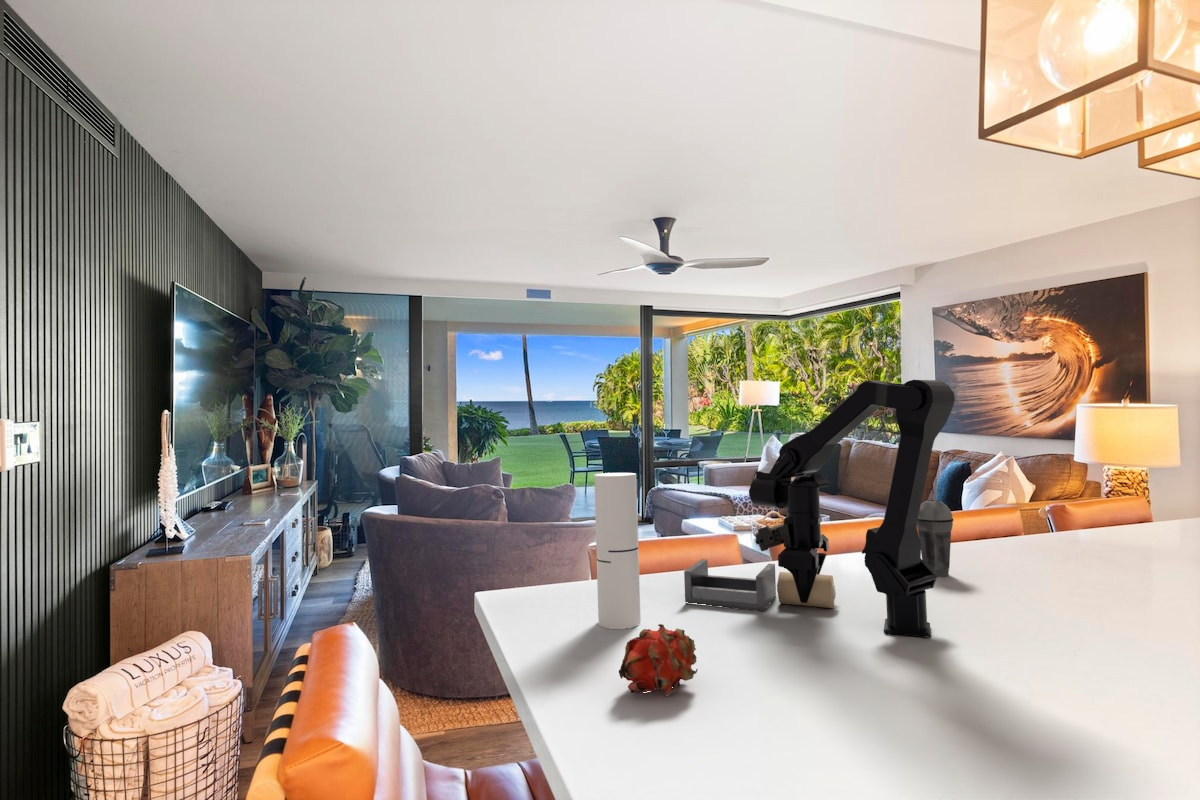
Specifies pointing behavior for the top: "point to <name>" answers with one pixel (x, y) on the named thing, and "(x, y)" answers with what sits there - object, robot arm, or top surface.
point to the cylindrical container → (617, 550)
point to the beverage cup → (935, 534)
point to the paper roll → (819, 595)
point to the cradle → (729, 588)
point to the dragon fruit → (658, 660)
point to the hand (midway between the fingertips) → (806, 598)
